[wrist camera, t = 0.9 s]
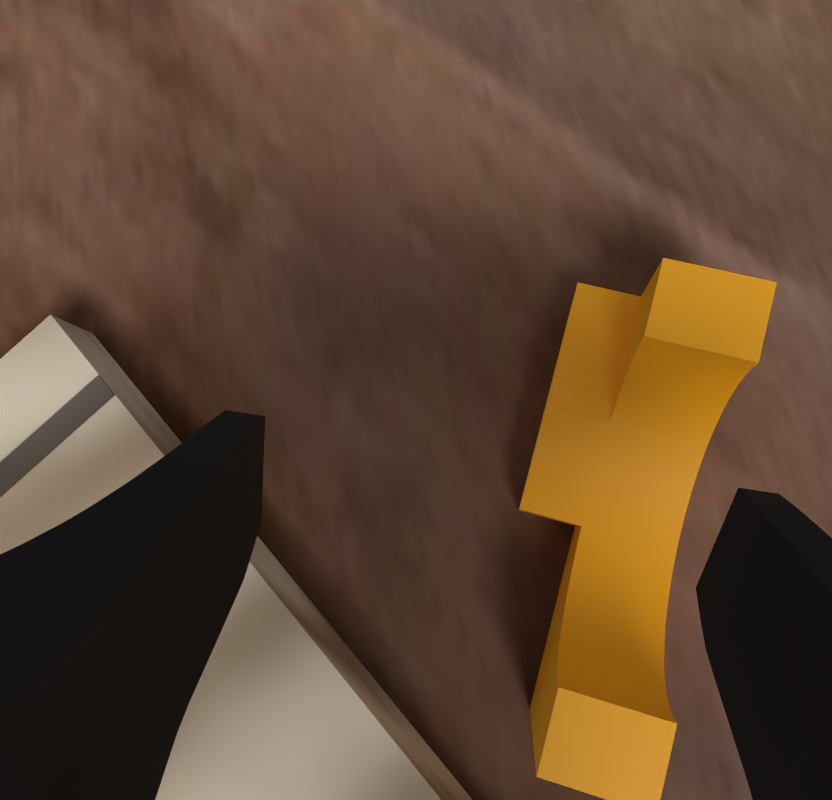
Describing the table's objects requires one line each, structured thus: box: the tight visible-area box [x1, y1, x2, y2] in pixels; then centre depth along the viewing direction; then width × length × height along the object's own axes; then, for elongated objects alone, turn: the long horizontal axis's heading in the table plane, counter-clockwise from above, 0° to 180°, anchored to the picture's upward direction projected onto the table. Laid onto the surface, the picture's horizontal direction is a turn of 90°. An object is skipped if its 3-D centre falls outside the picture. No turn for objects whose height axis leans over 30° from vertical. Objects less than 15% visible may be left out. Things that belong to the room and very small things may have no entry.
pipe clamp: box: [519, 258, 777, 800], centre depth 21 cm, size 12×4×6 cm, turn 164°
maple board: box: [0, 315, 472, 800], centre depth 23 cm, size 24×10×3 cm, turn 41°
